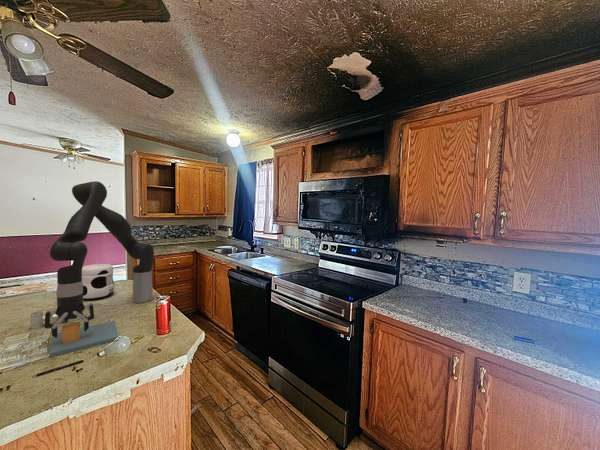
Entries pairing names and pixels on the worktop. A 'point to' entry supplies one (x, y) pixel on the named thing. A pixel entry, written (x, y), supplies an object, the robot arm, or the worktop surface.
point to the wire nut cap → (70, 332)
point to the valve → (39, 319)
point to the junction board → (85, 339)
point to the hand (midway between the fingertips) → (71, 333)
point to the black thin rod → (57, 368)
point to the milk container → (97, 281)
